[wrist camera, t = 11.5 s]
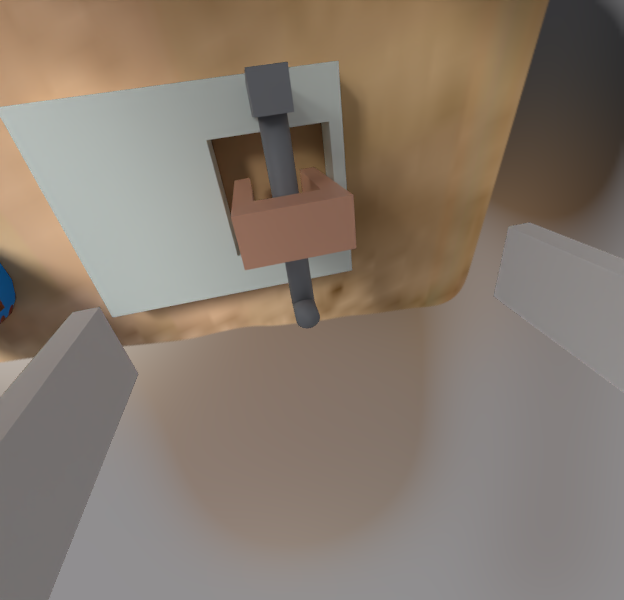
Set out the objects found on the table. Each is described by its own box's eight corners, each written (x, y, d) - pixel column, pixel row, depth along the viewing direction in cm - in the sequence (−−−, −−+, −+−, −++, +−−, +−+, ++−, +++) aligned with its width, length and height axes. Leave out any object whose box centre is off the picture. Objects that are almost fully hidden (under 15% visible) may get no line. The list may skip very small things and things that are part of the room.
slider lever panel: (123, 300, 30) (65, 388, 21) (24, 108, 22) (-152, 103, 12) (343, 258, 32) (385, 319, 23) (328, 66, 24) (385, 32, 14)
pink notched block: (243, 217, 26) (245, 270, 17) (234, 180, 25) (230, 217, 16) (318, 204, 27) (356, 248, 18) (314, 167, 25) (353, 194, 16)
